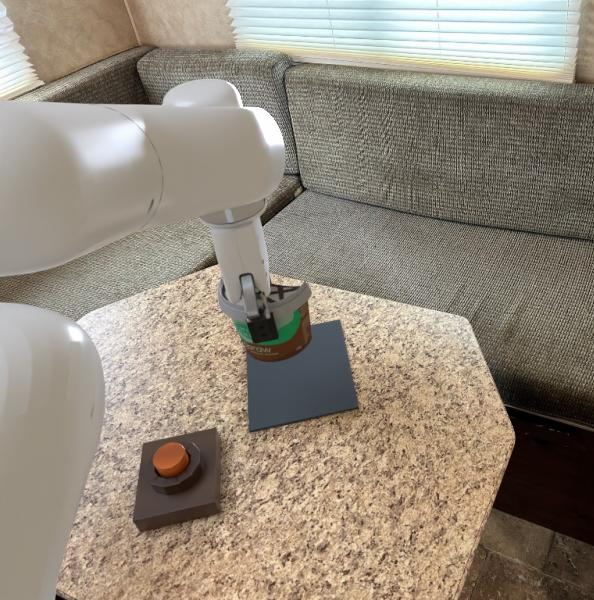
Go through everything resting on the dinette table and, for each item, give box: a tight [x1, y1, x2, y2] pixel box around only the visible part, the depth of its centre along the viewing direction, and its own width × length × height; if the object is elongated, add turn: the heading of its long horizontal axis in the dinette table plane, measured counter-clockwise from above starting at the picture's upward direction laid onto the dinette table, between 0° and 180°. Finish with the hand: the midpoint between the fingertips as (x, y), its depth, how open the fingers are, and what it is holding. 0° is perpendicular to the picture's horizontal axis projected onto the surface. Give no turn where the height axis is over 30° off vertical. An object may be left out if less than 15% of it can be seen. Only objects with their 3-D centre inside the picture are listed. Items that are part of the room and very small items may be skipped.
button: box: [153, 443, 189, 478], centre depth 78 cm, size 4×4×2 cm
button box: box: [132, 427, 222, 533], centre depth 80 cm, size 12×10×4 cm
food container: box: [217, 277, 313, 362], centre depth 78 cm, size 12×6×10 cm, turn 80°
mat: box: [245, 318, 360, 433], centre depth 95 cm, size 20×16×1 cm
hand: (264, 318), depth 77 cm, fingers closed on food container, 7 cm apart
